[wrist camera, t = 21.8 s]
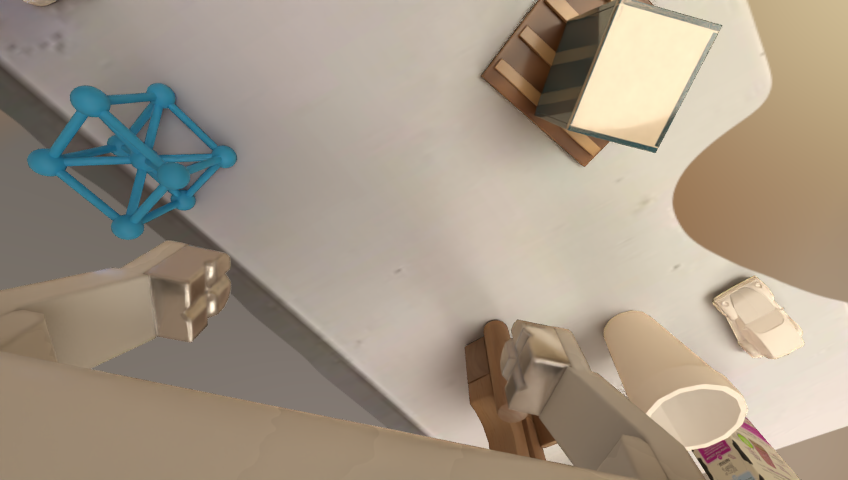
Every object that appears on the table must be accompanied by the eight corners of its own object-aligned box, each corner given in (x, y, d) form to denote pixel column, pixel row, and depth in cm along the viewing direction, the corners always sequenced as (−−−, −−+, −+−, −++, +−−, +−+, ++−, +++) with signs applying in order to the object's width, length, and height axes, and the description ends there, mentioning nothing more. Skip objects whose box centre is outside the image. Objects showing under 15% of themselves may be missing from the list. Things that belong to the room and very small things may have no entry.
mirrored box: (655, 153, 25) (722, 25, 21) (567, 130, 24) (622, -4, 21) (598, 132, 34) (639, 39, 30) (533, 115, 33) (567, 19, 30)
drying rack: (480, 76, 33) (482, 76, 32) (585, -63, 29) (592, -70, 27) (581, 165, 37) (586, 168, 35) (691, 53, 32) (701, 52, 31)
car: (794, 327, 44) (831, 354, 40) (743, 352, 46) (774, 380, 42) (753, 267, 41) (789, 289, 37) (701, 297, 43) (729, 321, 39)
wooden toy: (556, 386, 50) (650, 640, 28) (516, 404, 52) (573, 656, 30) (499, 315, 45) (555, 553, 23) (456, 338, 47) (470, 579, 25)
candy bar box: (648, 390, 50) (736, 524, 35) (676, 368, 48) (781, 500, 33) (704, 420, 52) (809, 558, 37) (733, 400, 50) (856, 538, 35)
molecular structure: (115, 142, 38) (13, 163, 29) (165, 77, 35) (69, 78, 26) (192, 210, 41) (122, 248, 32) (245, 156, 38) (183, 181, 29)
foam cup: (664, 292, 43) (749, 374, 31) (669, 347, 46) (747, 440, 35) (585, 312, 45) (636, 397, 33) (596, 364, 48) (646, 457, 36)
